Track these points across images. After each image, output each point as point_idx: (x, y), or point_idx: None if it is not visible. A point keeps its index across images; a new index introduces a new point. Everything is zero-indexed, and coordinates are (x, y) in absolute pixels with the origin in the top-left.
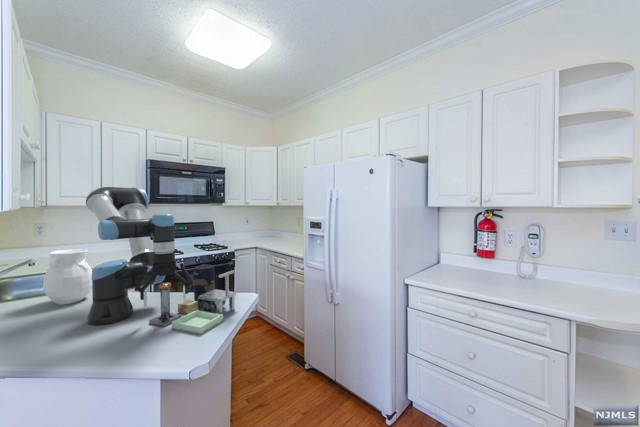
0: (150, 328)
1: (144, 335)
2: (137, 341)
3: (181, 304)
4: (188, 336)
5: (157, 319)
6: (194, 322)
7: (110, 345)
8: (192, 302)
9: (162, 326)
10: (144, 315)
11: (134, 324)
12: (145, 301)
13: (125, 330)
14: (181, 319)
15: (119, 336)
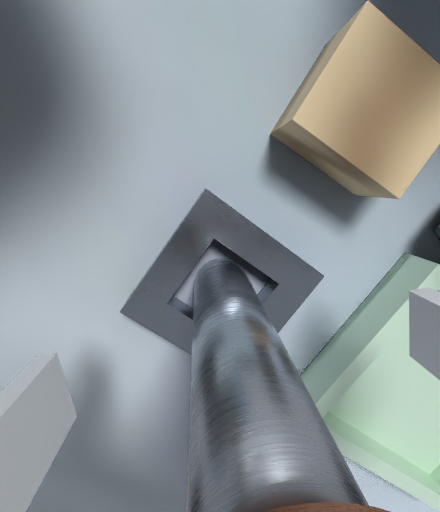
0: (160, 366)
1: (161, 440)
2: (153, 489)
3: (330, 148)
4: (372, 485)
5: (175, 314)
6: (401, 371)
7: (39, 502)
8: (429, 121)
9: None
10: (11, 117)
11: (25, 283)
12: (30, 489)
13: (16, 360)
14: (344, 387)
15: None
